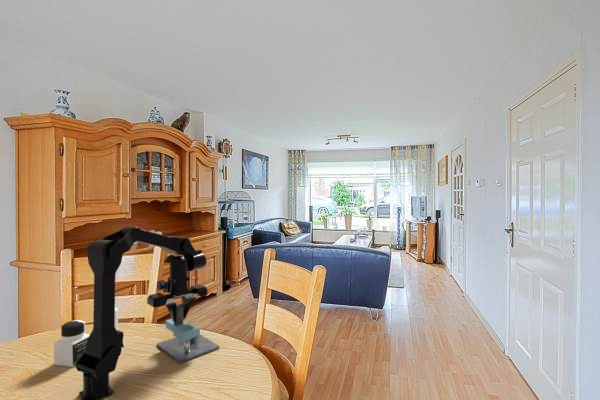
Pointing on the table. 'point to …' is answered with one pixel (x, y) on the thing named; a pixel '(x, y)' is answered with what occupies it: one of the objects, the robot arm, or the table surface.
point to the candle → (116, 318)
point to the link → (182, 326)
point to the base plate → (197, 347)
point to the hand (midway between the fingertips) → (178, 320)
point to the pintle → (187, 346)
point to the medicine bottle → (70, 343)
